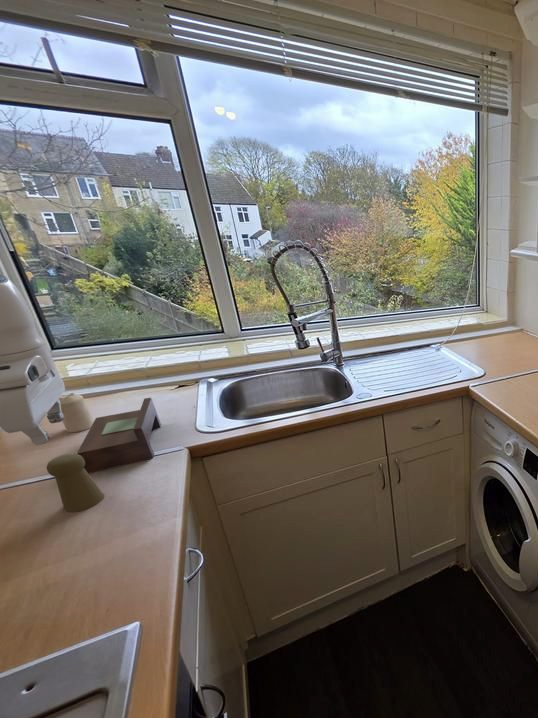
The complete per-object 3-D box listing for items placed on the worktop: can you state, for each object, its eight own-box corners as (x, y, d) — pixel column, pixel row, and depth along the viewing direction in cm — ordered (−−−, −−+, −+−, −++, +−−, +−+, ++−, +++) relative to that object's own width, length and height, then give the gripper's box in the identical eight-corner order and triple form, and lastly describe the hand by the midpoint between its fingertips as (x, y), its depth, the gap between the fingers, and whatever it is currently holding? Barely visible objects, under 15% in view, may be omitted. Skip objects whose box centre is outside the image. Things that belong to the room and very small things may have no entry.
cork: (103, 489, 89) (83, 446, 84) (105, 502, 85) (84, 458, 80) (64, 501, 85) (41, 457, 80) (63, 516, 81) (39, 470, 76)
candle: (92, 420, 116) (78, 388, 112) (97, 426, 113) (82, 394, 109) (64, 428, 112) (49, 395, 108) (69, 434, 109) (53, 401, 105)
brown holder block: (86, 473, 93) (71, 442, 90) (103, 435, 108) (91, 407, 105) (153, 458, 100) (141, 428, 96) (161, 424, 115) (151, 397, 111)
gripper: (12, 351, 79) (44, 414, 84) (-37, 387, 63) (5, 461, 69) (58, 345, 82) (85, 406, 87) (22, 379, 66) (58, 450, 72)
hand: (50, 431), depth 78 cm, fingers open, 8 cm apart
